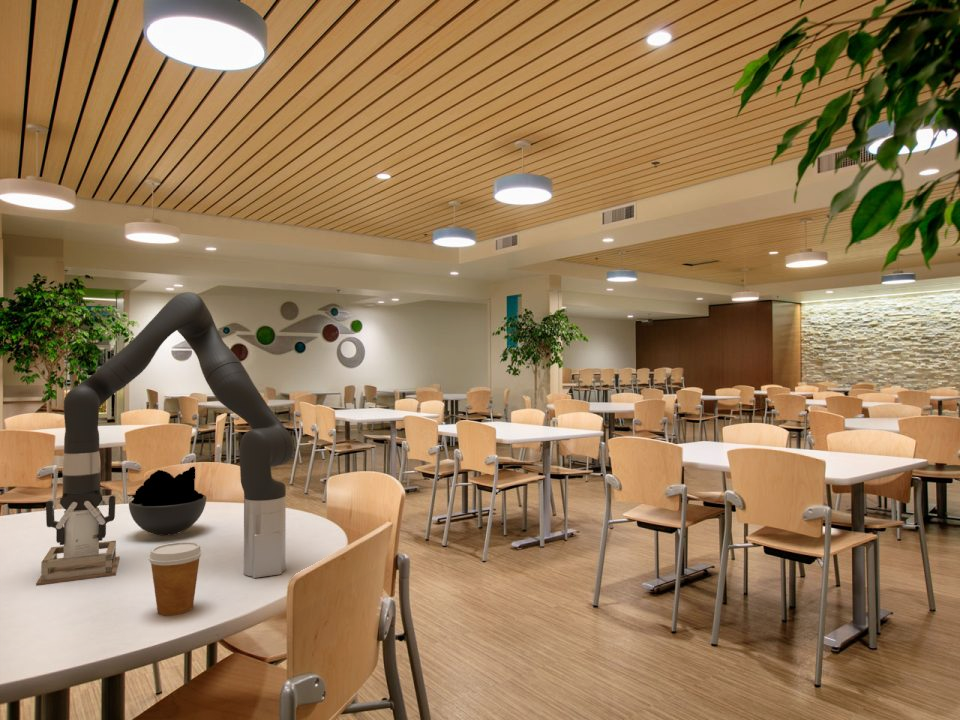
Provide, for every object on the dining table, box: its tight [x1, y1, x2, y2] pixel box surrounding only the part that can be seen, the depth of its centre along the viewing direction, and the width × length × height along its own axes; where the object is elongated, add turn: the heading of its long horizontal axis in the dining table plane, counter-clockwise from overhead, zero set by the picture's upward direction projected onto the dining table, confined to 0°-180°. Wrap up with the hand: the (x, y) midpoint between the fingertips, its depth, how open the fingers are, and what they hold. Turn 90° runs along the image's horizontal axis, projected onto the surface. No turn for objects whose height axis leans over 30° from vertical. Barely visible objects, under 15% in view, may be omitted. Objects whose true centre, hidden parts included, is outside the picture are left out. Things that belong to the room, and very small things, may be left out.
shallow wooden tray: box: [40, 540, 117, 581], centre depth 148 cm, size 13×13×4 cm
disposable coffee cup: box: [147, 541, 203, 616], centre depth 124 cm, size 10×10×12 cm
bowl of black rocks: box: [128, 466, 207, 536], centre depth 182 cm, size 20×20×19 cm
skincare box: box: [63, 507, 100, 558], centre depth 148 cm, size 6×4×12 cm
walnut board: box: [35, 555, 121, 586], centre depth 148 cm, size 15×15×1 cm
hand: (81, 542), depth 148 cm, fingers closed on skincare box, 7 cm apart
